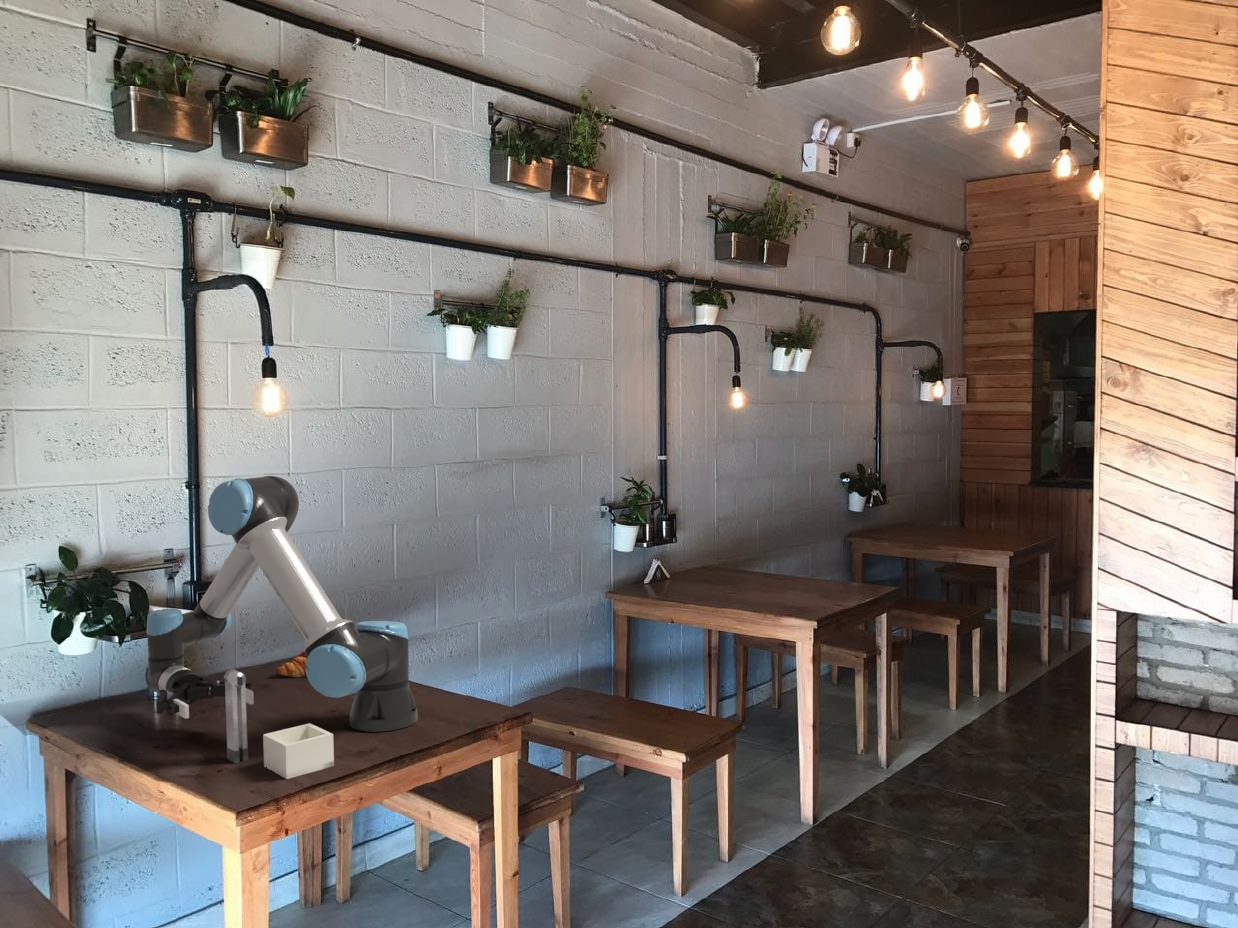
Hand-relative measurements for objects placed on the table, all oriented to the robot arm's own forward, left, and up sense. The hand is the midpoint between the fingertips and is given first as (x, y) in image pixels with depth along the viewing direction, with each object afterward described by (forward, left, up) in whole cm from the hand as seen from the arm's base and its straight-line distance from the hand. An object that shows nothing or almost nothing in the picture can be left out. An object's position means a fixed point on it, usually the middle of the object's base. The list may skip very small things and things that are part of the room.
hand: (220, 704), depth 209 cm
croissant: (-44, -45, -10) cm, 64 cm away
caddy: (-7, +20, -10) cm, 24 cm away
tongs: (0, +7, -10) cm, 12 cm away
